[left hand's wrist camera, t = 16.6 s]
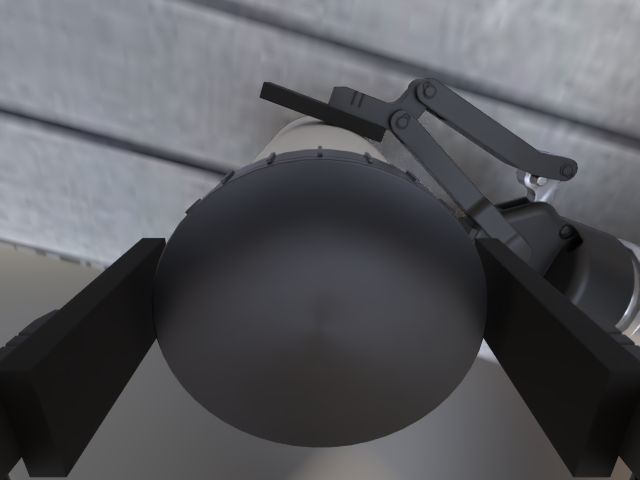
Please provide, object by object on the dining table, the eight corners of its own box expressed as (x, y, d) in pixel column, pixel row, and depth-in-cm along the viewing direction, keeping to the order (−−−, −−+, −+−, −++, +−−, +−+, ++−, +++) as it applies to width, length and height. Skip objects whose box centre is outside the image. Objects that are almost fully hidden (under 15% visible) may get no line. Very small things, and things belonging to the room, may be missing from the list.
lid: (243, 437, 14) (234, 478, 13) (112, 210, 11) (79, 230, 9) (493, 369, 13) (516, 406, 12) (429, 94, 10) (448, 96, 8)
